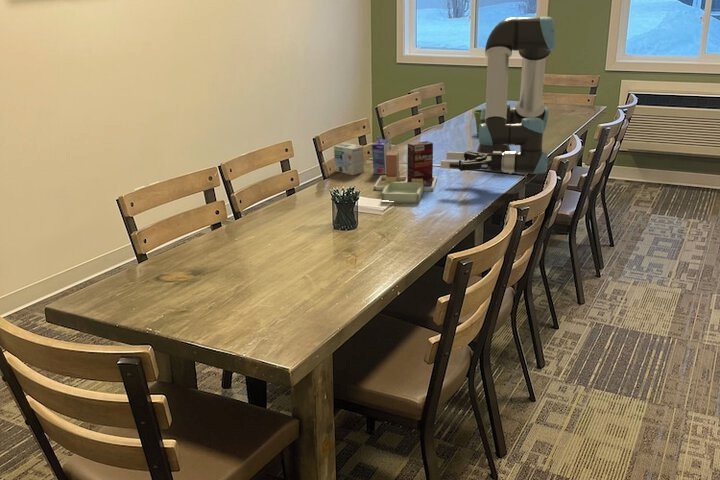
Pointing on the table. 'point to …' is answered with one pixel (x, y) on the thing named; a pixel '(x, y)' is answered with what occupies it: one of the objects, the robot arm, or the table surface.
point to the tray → (403, 192)
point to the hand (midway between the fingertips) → (443, 159)
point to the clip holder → (394, 179)
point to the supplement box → (420, 162)
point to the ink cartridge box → (380, 155)
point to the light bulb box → (349, 158)
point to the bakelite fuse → (392, 164)
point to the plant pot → (477, 118)
